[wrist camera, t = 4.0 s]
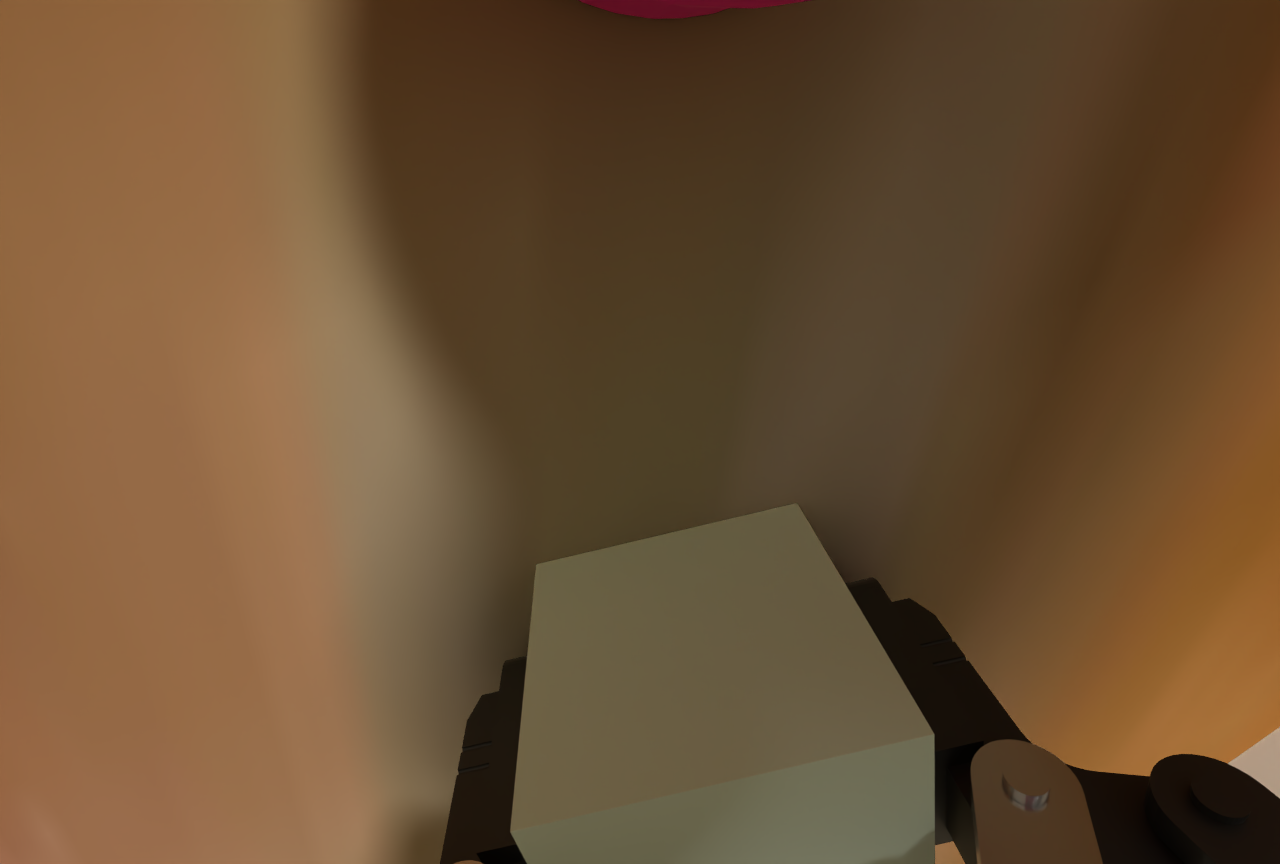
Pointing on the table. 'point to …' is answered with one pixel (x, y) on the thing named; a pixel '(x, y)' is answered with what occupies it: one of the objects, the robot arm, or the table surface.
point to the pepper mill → (679, 6)
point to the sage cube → (716, 709)
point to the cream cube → (1263, 762)
